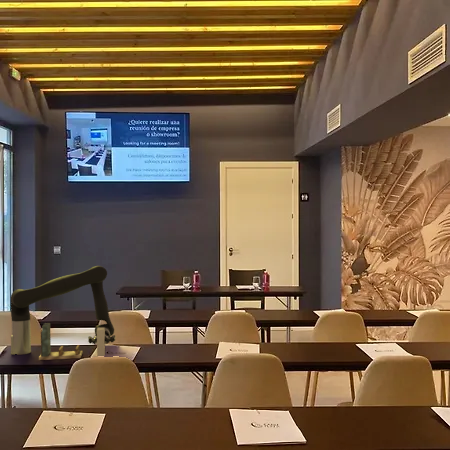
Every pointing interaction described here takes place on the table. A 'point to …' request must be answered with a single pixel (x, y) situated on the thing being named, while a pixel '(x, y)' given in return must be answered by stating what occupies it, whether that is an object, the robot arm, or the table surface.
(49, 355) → the book rack
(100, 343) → the cream book
